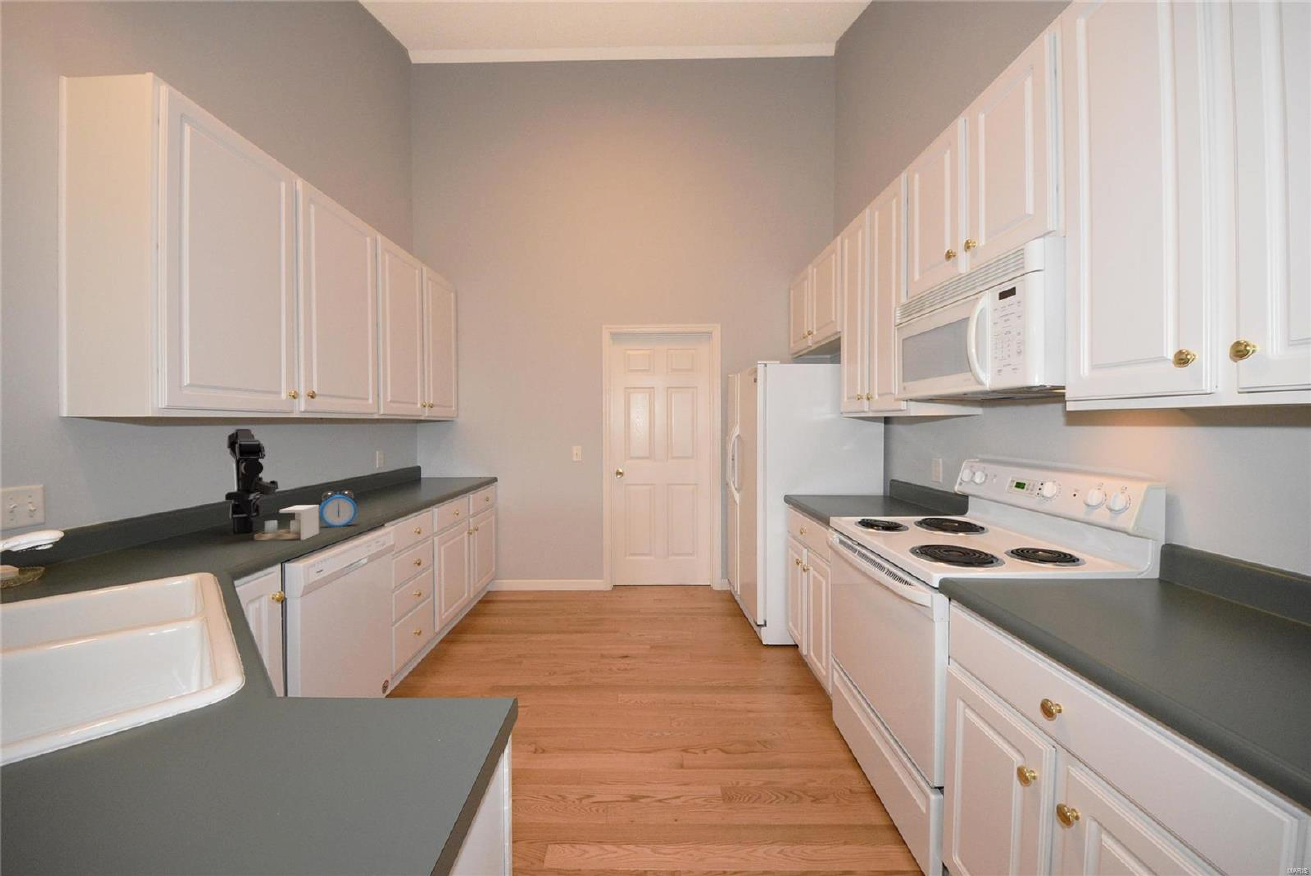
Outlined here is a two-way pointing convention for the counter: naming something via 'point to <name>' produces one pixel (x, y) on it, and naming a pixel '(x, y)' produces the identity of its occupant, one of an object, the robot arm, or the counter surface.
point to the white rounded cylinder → (295, 526)
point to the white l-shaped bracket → (305, 518)
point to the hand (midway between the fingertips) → (249, 517)
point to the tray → (277, 535)
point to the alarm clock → (337, 509)
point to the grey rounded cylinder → (271, 527)
